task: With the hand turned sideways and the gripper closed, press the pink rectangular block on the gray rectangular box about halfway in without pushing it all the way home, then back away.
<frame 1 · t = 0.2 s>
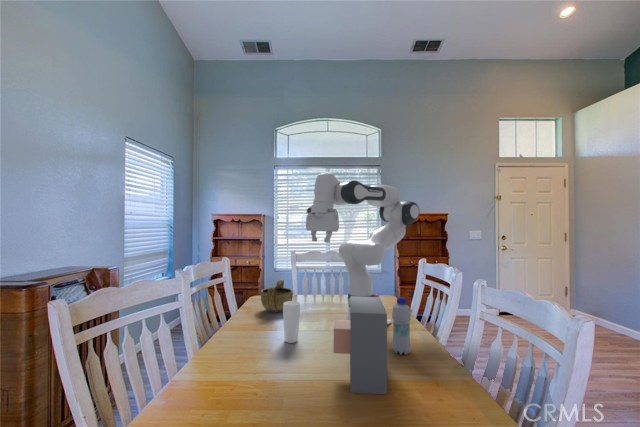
hand: (320, 241, 134), 39 cm above the table, tool pointing down, fingers open, 8 cm apart
bottle: (401, 352, 115), on the table
pink rectangular block: (342, 335, 98), point 12 cm above the table, slide at 0.0 cm
olive brown basket: (276, 311, 168), on the table
gray rectangular box: (366, 376, 97), on the table
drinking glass: (291, 341, 125), on the table
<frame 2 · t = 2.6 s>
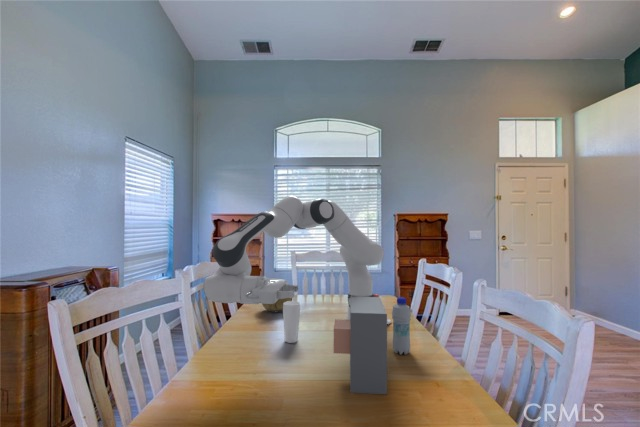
hand: (296, 291, 100), 25 cm above the table, tool horizontal, fingers open, 7 cm apart
nothing on the table moved.
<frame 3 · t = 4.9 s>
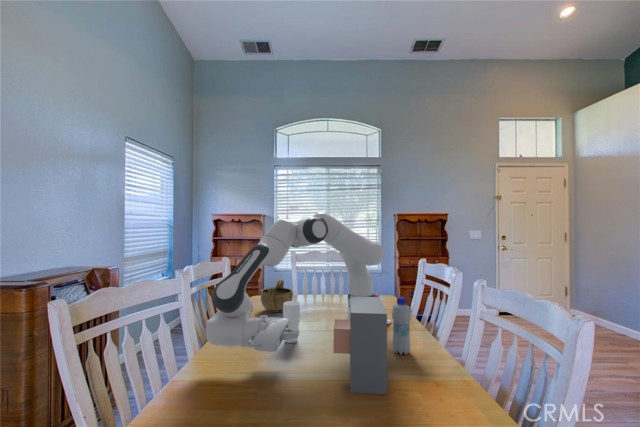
hand: (298, 334, 99), 12 cm above the table, tool horizontal, fingers closed
nothing on the table moved.
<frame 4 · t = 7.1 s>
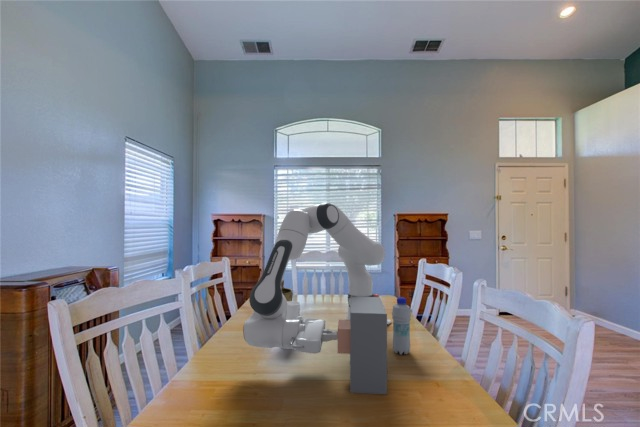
hand: (337, 335, 98), 12 cm above the table, tool horizontal, fingers closed, pressing on pink rectangular block
pink rectangular block: (346, 335, 98), point 12 cm above the table, slide at 1.2 cm, touching gripper
everything else where it was.
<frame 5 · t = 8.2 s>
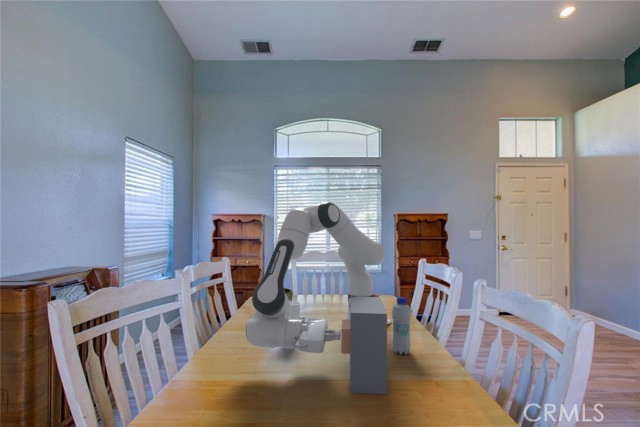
hand: (340, 335, 98), 12 cm above the table, tool horizontal, fingers closed
pink rectangular block: (349, 336, 98), point 12 cm above the table, slide at 2.3 cm
everything else where it was.
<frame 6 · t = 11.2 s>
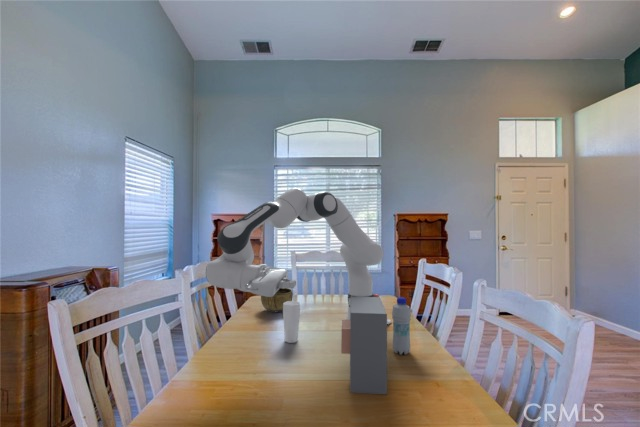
hand: (295, 284, 102), 27 cm above the table, tool horizontal, fingers closed
nothing on the table moved.
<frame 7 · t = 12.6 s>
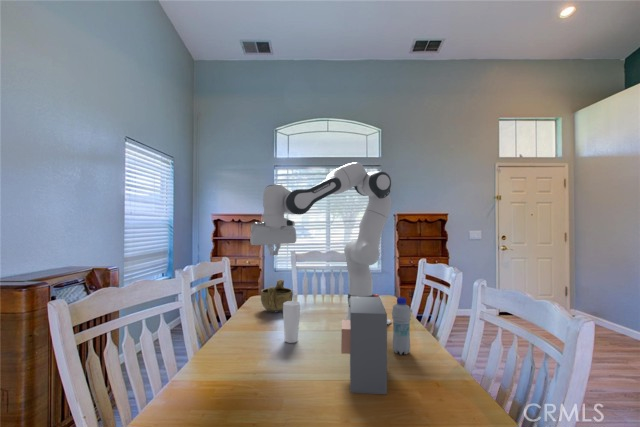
hand: (274, 255, 133), 33 cm above the table, tool pointing down, fingers closed
nothing on the table moved.
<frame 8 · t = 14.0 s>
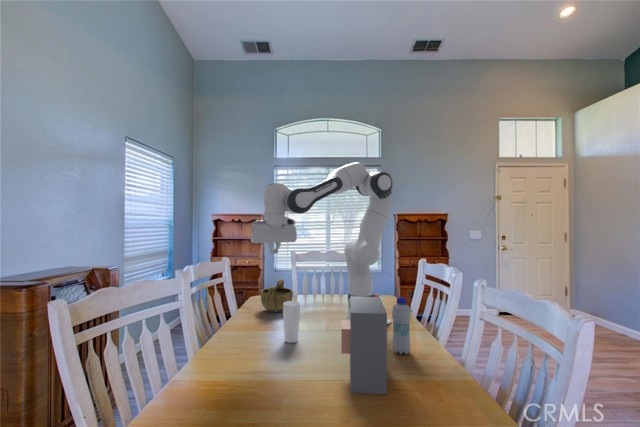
hand: (274, 253, 133), 34 cm above the table, tool pointing down, fingers closed
nothing on the table moved.
at the end: pink rectangular block slide at 2.3 cm; bottle moved 0.2 cm from its start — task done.
